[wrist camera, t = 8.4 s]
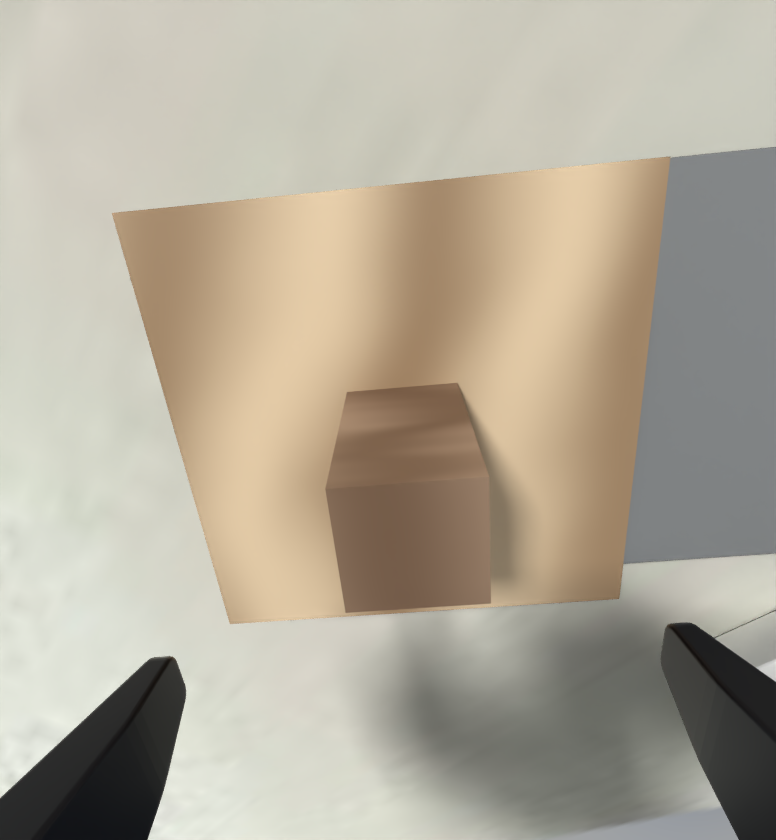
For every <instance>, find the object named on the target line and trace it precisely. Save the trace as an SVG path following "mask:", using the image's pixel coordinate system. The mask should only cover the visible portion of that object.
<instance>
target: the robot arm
mask: <svg viewBox="0 0 776 840" xmlns="http://www.w3.org/2000/svg"><path fill="white" fill-rule="evenodd" d="M661 665H662V669H663V672H664V674H665V677H666V679H667V682H668V685H669V687H670V690H671V692H672V695H673V697H674V700H675V702H676V705H677V707H678V710H679V712H680V715H681V717H682V720H683V723H684V725H685V728H686V730H687V733H688V735H689V738H690V740H691V743H692V745H693V748H694V750H695V752H696V755H697V757H698V760H699V762H700V764H701V766H702V768H703V770H704V772H705V774H706V776H707V778H708V780H709V782H710V784H711V786H712V788H713V790H714V792H715V794H716V796H717V798H718V800H719V802H720V804H721V806H722V808H723V810H724V812H725V814H726V815H727V817H728V819H729V821H730V823H731V825H732V827H733V829H734V831H735V833H736V835H737V837H738V839H739V840H776V681H774V680H773V679H771V678H770V677H769V676H767V675H766V674H764V673H763V672H761V671H760V670H759V669H757V668H756V667H754V666H753V665H752V664H750V663H749V662H747V661H746V660H744V659H743V658H742V657H740V656H739V655H737V654H736V653H734V652H733V651H732V650H730V649H729V648H727V647H726V646H725V645H723V644H722V643H720V642H719V641H717V640H716V639H715V638H713V637H712V636H710V635H709V634H708V633H706V632H705V631H703V630H702V629H700V628H699V627H698V626H696V625H694V624H692V623H673V624H668V625H667V627H666V629H665V633H664V639H663V645H662V651H661ZM185 699H186V687H185V683H184V681H183V678H182V675H181V672H180V669H179V667H178V664H177V661H176V659H175V658H174V657H171V656H166V657H154V658H151V659H149V660H148V661H147V662H145V663H144V664H143V665H142V666H141V667H140V668H139V669H138V670H137V671H136V672H135V673H134V674H133V675H132V676H130V677H129V678H128V679H127V680H126V681H125V682H124V683H123V684H122V685H121V686H120V687H119V688H118V689H117V690H115V691H114V692H113V693H112V694H111V695H110V696H109V697H108V698H107V699H106V700H105V701H104V702H103V703H102V704H100V705H99V706H98V707H97V708H96V709H95V710H94V711H93V712H92V713H91V714H90V715H89V716H88V717H87V718H86V719H84V720H83V721H82V722H81V723H80V724H79V725H78V726H77V727H76V728H75V729H74V730H73V731H72V732H71V733H69V734H68V735H67V736H66V737H65V738H64V739H63V740H62V741H61V742H60V743H59V744H58V745H57V746H56V747H54V748H53V749H52V750H51V751H50V752H49V753H48V754H47V755H46V756H45V757H44V758H43V759H42V760H41V761H39V762H38V763H37V764H36V765H35V766H34V767H33V768H32V769H31V770H30V771H29V772H28V773H27V774H26V775H24V776H23V777H22V778H21V779H20V780H19V781H18V782H17V783H16V784H15V785H14V786H13V787H12V788H11V789H9V790H8V791H7V792H6V793H5V794H4V795H3V796H2V797H1V798H0V840H147V839H148V836H149V833H150V830H151V827H152V824H153V821H154V819H155V816H156V813H157V810H158V807H159V804H160V800H161V797H162V794H163V791H164V787H165V784H166V780H167V776H168V772H169V768H170V763H171V759H172V755H173V751H174V746H175V742H176V738H177V734H178V729H179V725H180V721H181V716H182V712H183V708H184V704H185Z"/></svg>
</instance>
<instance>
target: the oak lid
mask: <svg viewBox="0 0 776 840" xmlns="http://www.w3.org/2000/svg"><path fill="white" fill-rule="evenodd" d="M669 165H670V157H661V158H651V159H641V160H632V161H622V162H612V163H602V164H592V165H582V166H572V167H562V168H553V169H543V170H533V171H523V172H513V173H503V174H493V175H483V176H474V177H464V178H454V179H444V180H434V181H424V182H414V183H404V184H395V185H385V186H375V187H365V188H355V189H345V190H335V191H326V192H316V193H306V194H296V195H286V196H276V197H266V198H256V199H247V200H237V201H227V202H217V203H207V204H197V205H187V206H177V207H168V208H158V209H148V210H138V211H128V212H118V213H112V215H113V219H114V222H115V226H116V229H117V233H118V236H119V240H120V243H121V247H122V250H123V254H124V257H125V260H126V264H127V267H128V271H129V274H130V278H131V281H132V285H133V288H134V292H135V295H136V299H137V302H138V306H139V309H140V313H141V316H142V320H143V323H144V327H145V330H146V334H147V337H148V340H149V344H150V347H151V351H152V354H153V358H154V361H155V365H156V368H157V372H158V375H159V379H160V382H161V386H162V389H163V393H164V396H165V400H166V403H167V407H168V410H169V414H170V417H171V420H172V424H173V427H174V431H175V434H176V438H177V441H178V445H179V448H180V452H181V455H182V459H183V462H184V466H185V469H186V473H187V476H188V480H189V483H190V487H191V490H192V494H193V497H194V500H195V504H196V507H197V511H198V514H199V518H200V521H201V525H202V528H203V532H204V535H205V539H206V542H207V546H208V549H209V553H210V556H211V560H212V563H213V567H214V570H215V574H216V577H217V580H218V584H219V587H220V591H221V594H222V598H223V601H224V605H225V608H226V612H227V615H228V619H229V622H230V624H237V623H252V622H268V621H283V620H299V619H314V618H330V617H345V616H361V615H376V614H392V613H407V612H423V611H438V610H454V609H469V608H485V607H500V606H516V605H531V604H547V603H562V602H578V601H593V600H609V599H619V595H620V587H621V578H622V570H623V561H624V552H625V544H626V535H627V527H628V518H629V509H630V501H631V492H632V483H633V475H634V466H635V458H636V449H637V440H638V432H639V423H640V415H641V406H642V397H643V389H644V380H645V372H646V363H647V354H648V346H649V337H650V329H651V320H652V311H653V303H654V294H655V286H656V277H657V268H658V260H659V251H660V242H661V234H662V225H663V217H664V208H665V199H666V191H667V182H668V174H669Z"/></svg>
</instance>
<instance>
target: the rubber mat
mask: <svg viewBox="0 0 776 840" xmlns="http://www.w3.org/2000/svg"><path fill="white" fill-rule="evenodd" d="M771 553H776V147H770V148H760V149H751V150H741V151H731V152H721V153H711V154H701V155H692V156H682V157H672V158H670V165H669V174H668V182H667V191H666V199H665V208H664V217H663V225H662V234H661V242H660V251H659V260H658V268H657V277H656V286H655V294H654V303H653V311H652V320H651V329H650V337H649V346H648V354H647V363H646V372H645V380H644V389H643V397H642V406H641V415H640V423H639V432H638V440H637V449H636V458H635V466H634V475H633V483H632V492H631V501H630V509H629V518H628V527H627V535H626V544H625V552H624V561H623V564H624V563H639V562H653V561H668V560H683V559H698V558H712V557H727V556H742V555H757V554H771Z"/></svg>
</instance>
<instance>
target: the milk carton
mask: <svg viewBox="0 0 776 840" xmlns="http://www.w3.org/2000/svg"><path fill="white" fill-rule="evenodd" d="M715 639H716V640H717V641H719V642H720V643H722V644H723V645H725V646H726V647H727V648H729V649H730V650H732V651H733V652H734V653H736V654H737V655H739V656H740V657H742V658H743V659H744V660H746V661H747V662H749V663H750V664H752V665H753V666H754V667H756V668H757V669H759V670H760V671H761V672H763V673H764V674H766V675H767V676H769V677H770V678H771V679H773V680H774V681H776V611H774V612H771V613H769V614H767V615H765V616H763V617H760V618H758V619H756V620H754V621H752V622H749V623H747V624H745V625H743V626H740V627H738V628H736V629H734V630H732V631H729V632H727V633H725V634H723V635H721V636H718V637H716V638H715Z"/></svg>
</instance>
